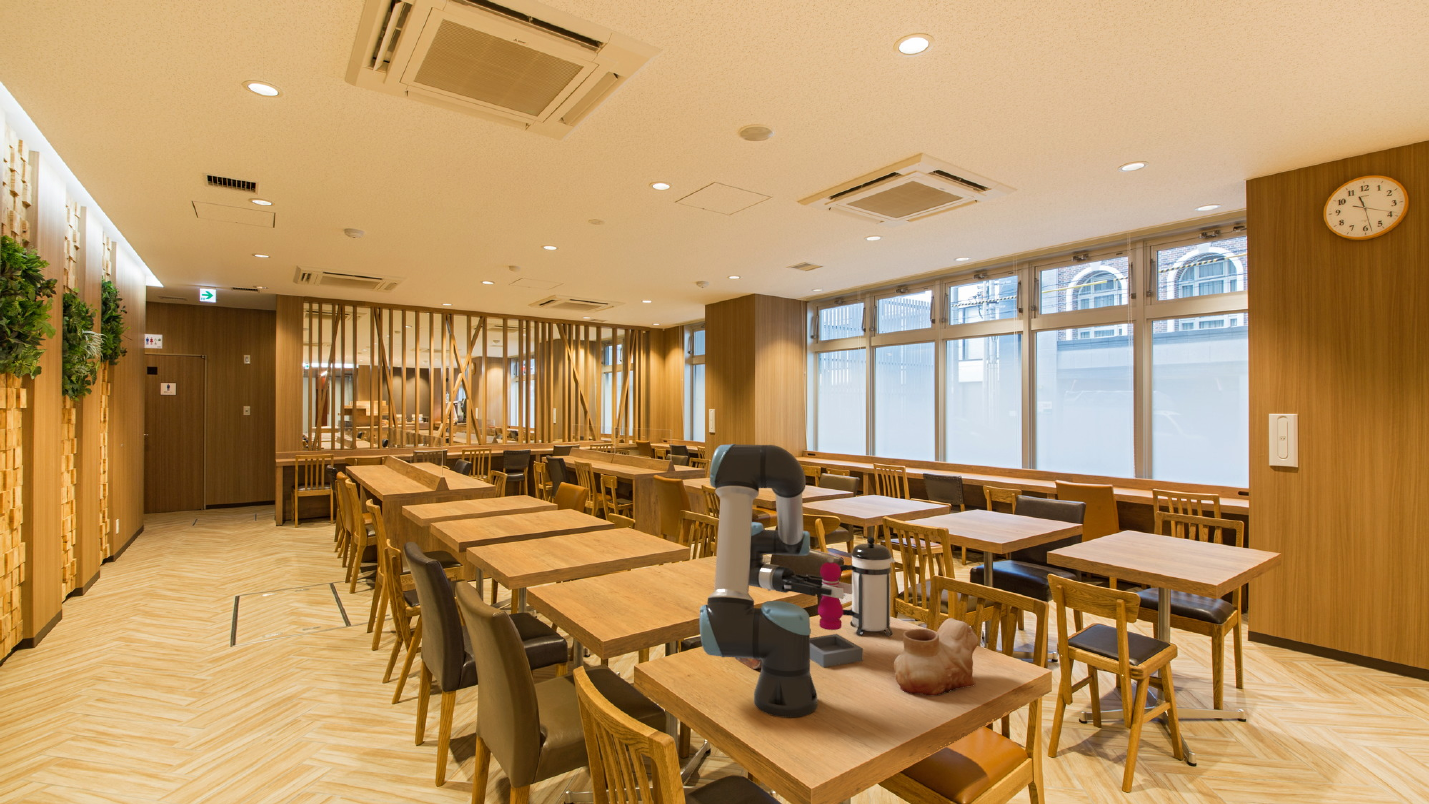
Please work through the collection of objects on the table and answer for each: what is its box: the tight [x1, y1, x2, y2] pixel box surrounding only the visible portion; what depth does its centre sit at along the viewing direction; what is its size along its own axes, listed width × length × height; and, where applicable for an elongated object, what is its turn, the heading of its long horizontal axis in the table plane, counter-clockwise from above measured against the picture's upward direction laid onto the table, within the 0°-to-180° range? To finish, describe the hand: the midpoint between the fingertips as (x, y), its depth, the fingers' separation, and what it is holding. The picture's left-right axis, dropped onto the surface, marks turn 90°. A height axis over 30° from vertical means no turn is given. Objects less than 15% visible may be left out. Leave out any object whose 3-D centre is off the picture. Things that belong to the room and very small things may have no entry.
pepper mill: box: [817, 556, 844, 631], centre depth 189 cm, size 7×7×20 cm
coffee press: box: [839, 536, 896, 637], centre depth 210 cm, size 17×16×30 cm
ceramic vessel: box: [893, 617, 979, 697], centre depth 170 cm, size 14×26×15 cm, turn 119°
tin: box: [735, 658, 762, 670], centre depth 183 cm, size 15×3×8 cm, turn 31°
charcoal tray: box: [810, 633, 864, 668], centre depth 188 cm, size 13×13×4 cm
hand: (847, 591), depth 186 cm, fingers closed on pepper mill, 5 cm apart
